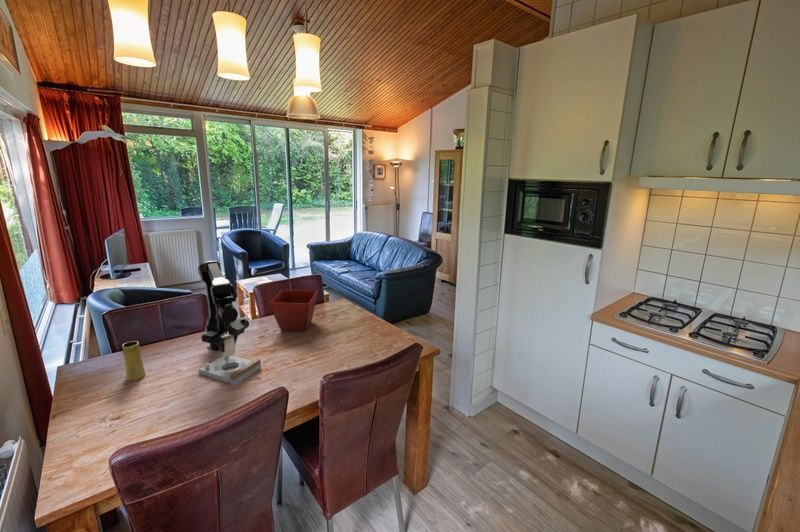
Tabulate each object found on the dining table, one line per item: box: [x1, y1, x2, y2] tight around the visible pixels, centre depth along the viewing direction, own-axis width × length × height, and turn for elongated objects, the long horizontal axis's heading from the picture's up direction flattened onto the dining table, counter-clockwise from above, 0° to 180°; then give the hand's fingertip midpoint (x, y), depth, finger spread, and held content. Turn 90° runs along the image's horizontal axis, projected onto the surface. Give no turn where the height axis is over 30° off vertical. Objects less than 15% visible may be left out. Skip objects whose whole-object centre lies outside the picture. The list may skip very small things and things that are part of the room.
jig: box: [198, 355, 262, 386], centre depth 153 cm, size 19×14×4 cm
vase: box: [121, 340, 146, 382], centre depth 146 cm, size 6×6×14 cm
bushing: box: [221, 333, 236, 356], centre depth 151 cm, size 5×5×7 cm
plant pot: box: [270, 289, 318, 332], centre depth 195 cm, size 19×19×17 cm
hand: (228, 349), depth 151 cm, fingers closed on bushing, 5 cm apart
